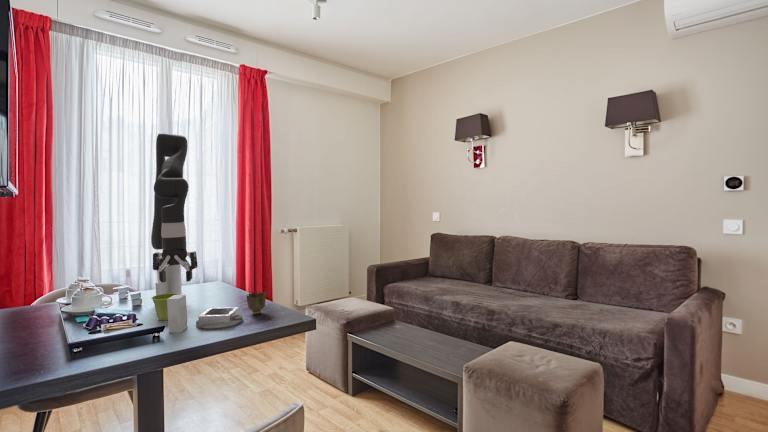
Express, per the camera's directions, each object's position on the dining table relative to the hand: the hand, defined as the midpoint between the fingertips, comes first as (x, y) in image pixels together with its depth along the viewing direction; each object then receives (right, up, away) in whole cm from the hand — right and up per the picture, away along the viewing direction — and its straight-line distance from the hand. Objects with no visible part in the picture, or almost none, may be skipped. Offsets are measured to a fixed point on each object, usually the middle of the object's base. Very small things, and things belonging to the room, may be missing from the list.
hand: (176, 281), depth 145 cm
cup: (+22, -16, +19) cm, 33 cm away
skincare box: (0, -17, +1) cm, 18 cm away
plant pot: (-11, -17, +15) cm, 26 cm away
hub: (+12, -17, +8) cm, 22 cm away
